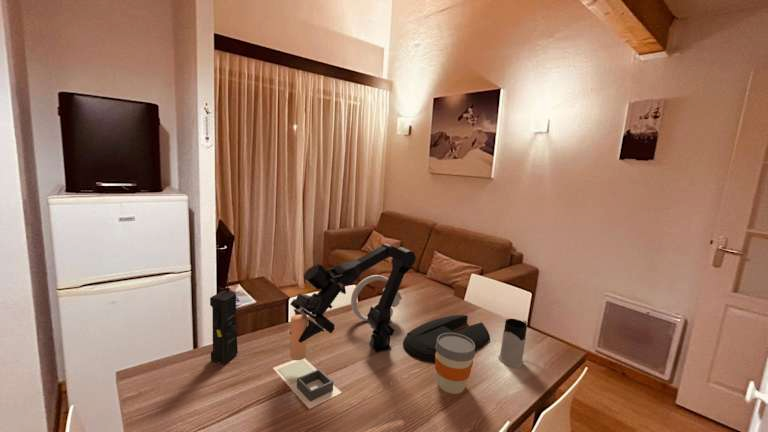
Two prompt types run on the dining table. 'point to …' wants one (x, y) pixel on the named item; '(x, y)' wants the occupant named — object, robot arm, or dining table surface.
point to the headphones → (358, 289)
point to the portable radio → (224, 326)
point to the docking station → (425, 336)
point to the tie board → (307, 382)
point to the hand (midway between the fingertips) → (294, 338)
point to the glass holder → (513, 343)
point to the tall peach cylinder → (298, 337)
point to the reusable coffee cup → (453, 361)
